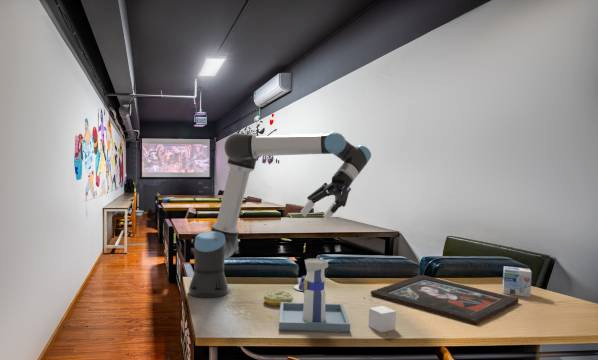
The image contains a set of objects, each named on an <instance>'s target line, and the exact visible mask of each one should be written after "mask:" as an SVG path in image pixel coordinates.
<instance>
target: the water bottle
mask: <svg viewBox="0 0 598 360" xmlns="http://www.w3.org/2000/svg"><path fill="white" fill-rule="evenodd" d="M305 252H306V244H304V246H303V253H305ZM304 264H305V269H306V275H305V276H306V277H305V279H304V289H305V291H303V292H304V293H303V303H304V305H303V317H302V318H303V320H305V321H307V322H323V321H325V319H326V317H325V303H326V289H325V282H326V280H327V278H326V276H325V271H326V270H325V269H328V267H329V262H328V260H327V259H323V258H307V259H304Z"/></svg>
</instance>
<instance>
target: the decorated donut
mask: <svg viewBox="0 0 598 360" xmlns="http://www.w3.org/2000/svg"><path fill="white" fill-rule="evenodd" d="M263 300H264V302H265V304H266V305H269V306H273V307H280V305H281V302H292V301H294V297H293V295H292V294H291V293H290V292H288V291H286V290H272V291H267V292H266V293H264V295H263Z"/></svg>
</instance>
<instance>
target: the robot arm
mask: <svg viewBox="0 0 598 360" xmlns="http://www.w3.org/2000/svg"><path fill="white" fill-rule="evenodd" d="M223 149H224V152H225V155H226V156H227V158H228V159H227V162H226V164H227V166H228V167H229V171H228V174H227V178H226V183H225V186H224V191H223V194H222V198H221V203H220V205H219V211H218V214H217V220H216V221H215V223H213V224H212V225H211V228H210V231H204V232H200V233H198V234H197V235H196V236H195V239H194V244H193V246H194V260H193V261H194V262H193V263H194V264H193V268H194V269H193V275H192V278H191V280H190V284H189V286H188V294H189V295H190V296H193V297H195V298H204V299H206V298H207V299H208V298H210V299H211V298H218V297H219V298H220V297H223V296H225V295H227V294H228V293H229V286H228V282H227V278H226V275H225V260H227V259H228V258H230V257H232V256H233V255H234V254H235V252H236V251H237V249H238V247H239V239H238V236H239V231H240V230H239V229H238V227H237V226H238V221H239V217H240V213H241V209H242V205H243V200H244V197H245V194H246V193H245V192H246V188H247V185H248V181H249V177H250V173H252V172H253V171H254V170H255V168H256V163H257V161H258V160H259V158H260V157H268V156H269V157H270V156H295V155H300V156H301V155H303V156H304V155H330V154H331V155H334V156H335V157H337V158H338V159H340V160H341V161H342V162H343V163H342V164H341V166H340V167H339V168H338V169H337V171H336V172H335V173H334V174H333V176H332V177H331V182H330V183H329V184H328V183H327V182H324V183H323V184H322V185H321V186H320V187H319V188H317V189H316V190H315V191H314V192H312V193H311V194H309V195H308V196H307V197H306V198H307V202H306V204H305V205H304V206H303V207H302V209H301V210H300V213H301V214H302V216H303V217H304V218H305V217H307V215H308V214H309V213H310V212H311V210H312V209H313V208H314V206H315V203H317V202H319V201H321V200H323V199H324V198H326V197H330V196H334V201H333V202H332V203H331V205H330V206H329V207H328V209H327V210H326V211H325V212H324V214H322V216H323V218H324V219H325V221H327V222H328V221H329V220H330V219H331V218H332V216H333V215H334V214H335V213H336V212H337V211H338V209H339V208H341V207H343V208H344V207H345V206H347V203H348V202H347V201H348V198H349V193H350V191H351V190H352V188H351V185H352V183H353V182H354V181H355V180H356V178H357V177H358V176H359V175H360V173H361V171H362V170H363V169H364V168H365V167H366V165H367V164H368V163H369V161H370V160H371V157H372V152H371V151H370V149H369V148H368V147H367V146H366V145H365V146H363V145H362V144H361V145H360V144H359V145H357V146H354V145H353V144H351V143H350V142H349V141H347V140H346V138H345V137H344V136H343V134H341V133H339V132H335V131H333V130H332V131H330V132H329V133H324V134H323V133H320V134H319V133H317V134H315V133H314V134H290V135H266V136H265V135H263V136H260V135H259V136H258V135H257V134H256V133H241V132H238V133H233V134H231V135H229V136H228V137H227V138H226V141H225V142H224V148H223Z"/></svg>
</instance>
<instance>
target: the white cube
mask: <svg viewBox="0 0 598 360" xmlns="http://www.w3.org/2000/svg"><path fill="white" fill-rule="evenodd" d="M396 316H397V311H396V310H395V309H392V308H389V307H388V306H385V305H379V306H373V307H369V309H368V327H370V328H371V329H374V330H375V331H377V332H379V333H384V332H390V331H393V330H396V320H397V318H396Z"/></svg>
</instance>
